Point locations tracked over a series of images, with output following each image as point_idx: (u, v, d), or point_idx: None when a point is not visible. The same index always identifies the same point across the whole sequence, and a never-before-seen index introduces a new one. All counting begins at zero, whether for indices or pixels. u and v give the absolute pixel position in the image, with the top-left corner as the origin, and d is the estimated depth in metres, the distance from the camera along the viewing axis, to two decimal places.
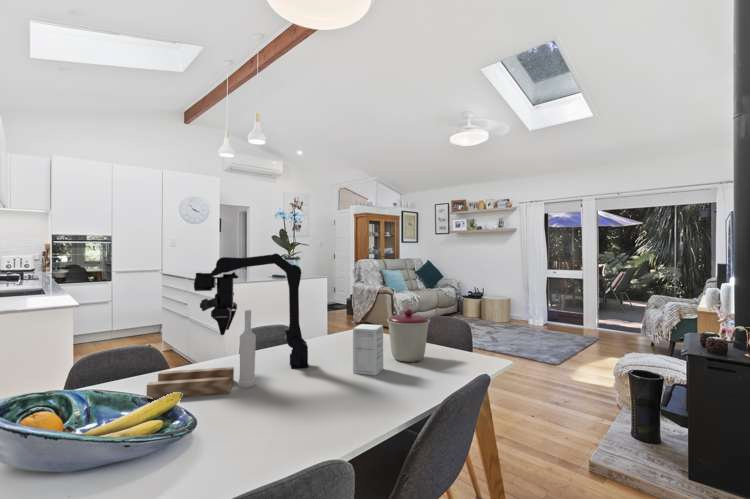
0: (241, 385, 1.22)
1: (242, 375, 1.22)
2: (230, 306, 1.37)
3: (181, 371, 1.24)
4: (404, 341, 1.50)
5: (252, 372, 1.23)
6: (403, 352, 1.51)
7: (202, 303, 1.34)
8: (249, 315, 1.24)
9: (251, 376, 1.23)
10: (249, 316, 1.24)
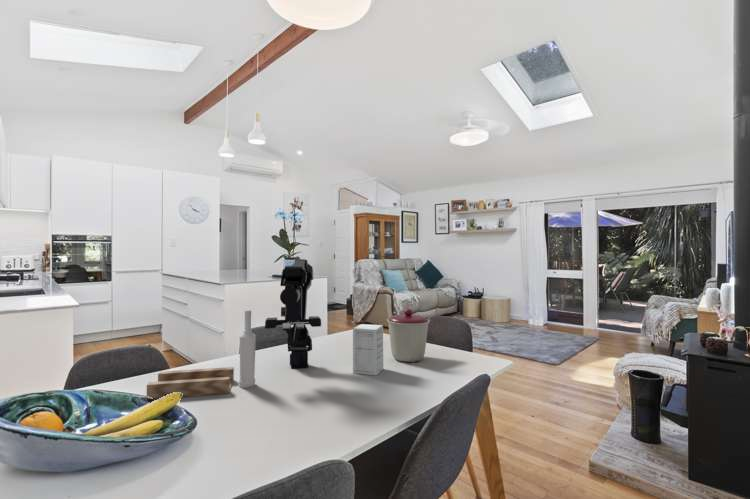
0: (241, 385, 1.22)
1: (242, 375, 1.22)
2: (286, 319, 1.26)
3: (181, 371, 1.24)
4: (404, 341, 1.50)
5: (252, 372, 1.23)
6: (403, 352, 1.51)
7: None
8: (248, 315, 1.24)
9: (251, 376, 1.23)
10: (249, 316, 1.24)
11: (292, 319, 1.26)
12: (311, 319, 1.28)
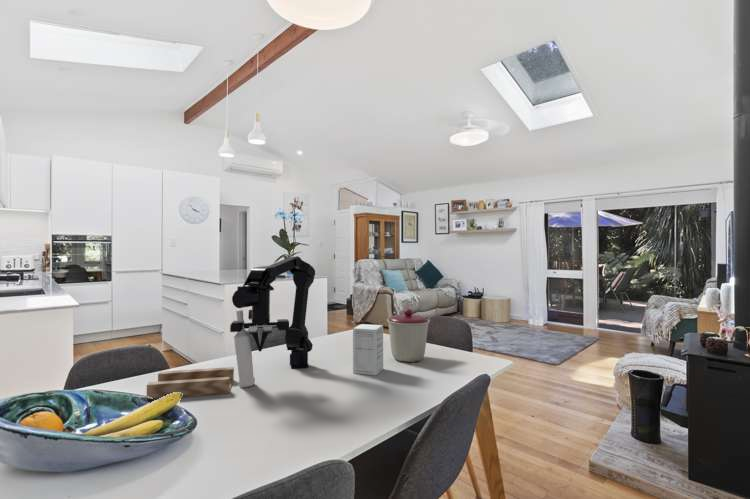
0: (241, 385, 1.22)
1: (241, 375, 1.22)
2: (252, 322, 1.23)
3: (181, 371, 1.24)
4: (404, 341, 1.50)
5: (250, 371, 1.23)
6: (403, 352, 1.51)
7: None
8: (240, 315, 1.23)
9: (250, 375, 1.23)
10: (241, 316, 1.23)
11: (259, 322, 1.23)
12: (279, 322, 1.25)
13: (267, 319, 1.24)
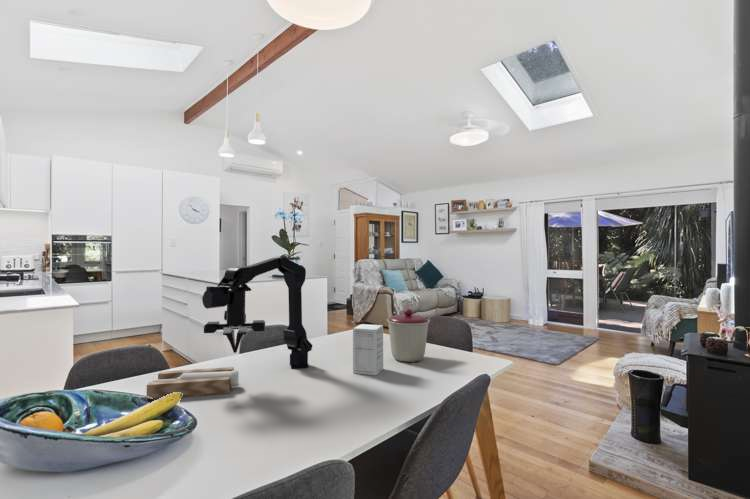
0: (234, 382, 1.20)
1: None
2: None
3: (181, 371, 1.24)
4: (404, 341, 1.50)
5: (222, 372, 1.21)
6: (403, 352, 1.51)
7: None
8: (157, 381, 1.16)
9: (226, 373, 1.20)
10: (159, 380, 1.17)
11: (233, 323, 1.21)
12: (254, 323, 1.23)
13: (242, 320, 1.22)
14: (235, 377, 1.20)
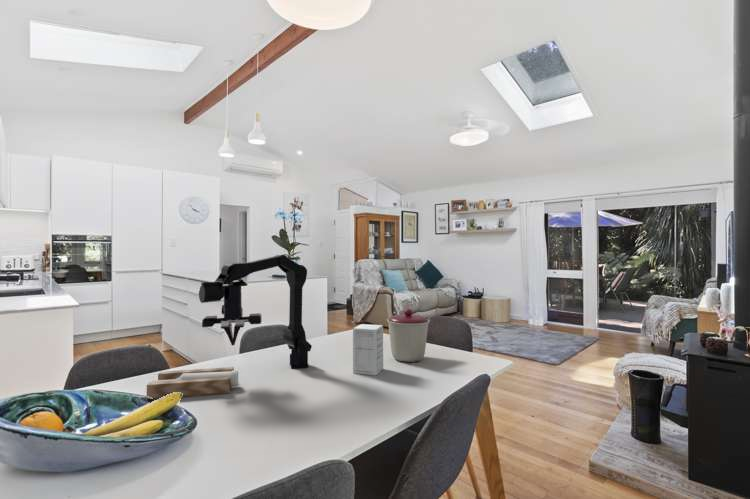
0: (234, 384, 1.20)
1: None
2: None
3: (181, 371, 1.24)
4: (404, 341, 1.50)
5: (222, 373, 1.20)
6: (403, 352, 1.51)
7: None
8: None
9: (226, 374, 1.20)
10: (159, 381, 1.16)
11: (230, 317, 1.25)
12: (250, 317, 1.27)
13: (239, 314, 1.27)
14: (235, 378, 1.20)
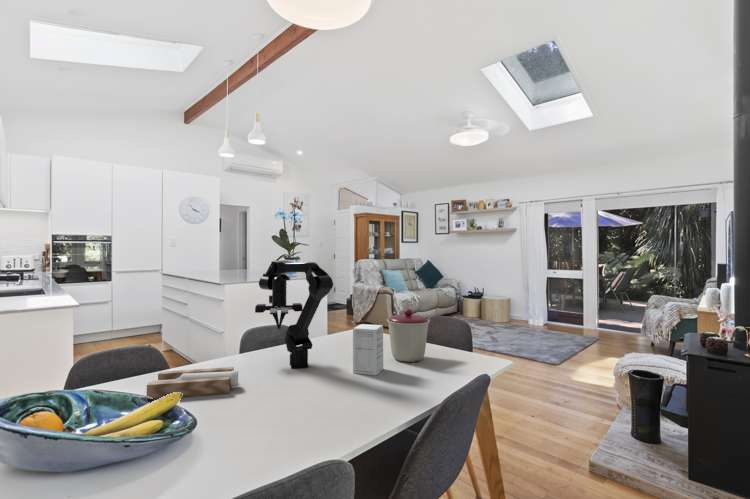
0: (234, 384, 1.20)
1: None
2: (273, 305, 1.51)
3: (181, 371, 1.24)
4: (404, 341, 1.50)
5: (222, 373, 1.20)
6: (403, 352, 1.51)
7: None
8: None
9: (226, 374, 1.20)
10: (159, 381, 1.16)
11: (278, 305, 1.51)
12: (294, 305, 1.53)
13: (284, 302, 1.53)
14: (235, 378, 1.20)
